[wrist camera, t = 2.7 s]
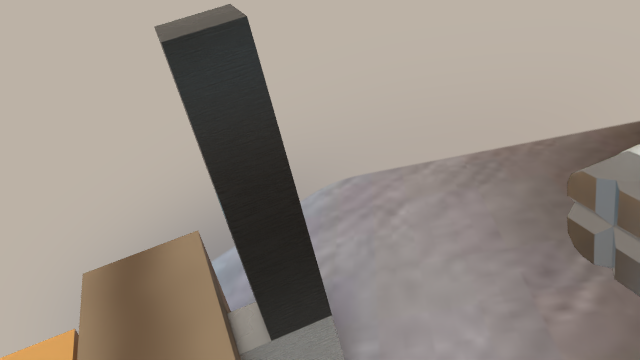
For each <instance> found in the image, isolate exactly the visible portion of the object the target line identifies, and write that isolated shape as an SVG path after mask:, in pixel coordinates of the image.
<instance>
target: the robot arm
mask: <svg viewBox="0 0 640 360" xmlns="http://www.w3.org/2000/svg"><path fill="white" fill-rule="evenodd" d="M567 195H568V196H569V198H570V199H571V200H572V201H573V202H574V205H573V207H572V209H571V211H570V212H569V214H568V216H567V222H568V234H569V236H570V238H571V240H572V242H573V245H574V247H575V248H576V249H577V250H578V251H579V253H580V254H581V255H582V256H583V257H584V258H586V259H587V260H589V261H590V262H591V263H593V264H594V265H599V266H604V267H608V268H612V271H613V275H614V279H615V280H617V281H618V282H620V283H621V284H622V285H624V286H625V287H627V288H628V289H630V290H631V291H633V292H634V293H635V294H637V295H638V296H640V144H639V145H636V146H634V147H632V148H630V149H627V150H625V151H623V152H621V153H620V154H618V155H615V156H613V157H611V158H608V159H606V160H603V161H601V162H599V163H596V164H594V165H591V166H589V167H587V168H584V169H582V170H579V171H577V172H575V173H572V174H571V176H570V178H569V181H568V184H567Z"/></svg>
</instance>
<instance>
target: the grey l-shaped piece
mask: <svg viewBox="0 0 640 360" xmlns="http://www.w3.org/2000/svg"><path fill="white" fill-rule="evenodd" d="M155 30H156V32H157V35H158V38H159V41H160V43H161V46H162V49H163V52H164V54H165V57H166V60H167V62H168V65H169V68H170V71H171V73H172V76H173V79H174V81H175V84H176V87H177V89H178V92H179V95H180V97H181V100H182V103H183V105H184V108H185V111H186V114H187V116H188V119H189V122H190V125H191V127H192V130H193V132H194V135H195V138H196V140H197V143H198V146H199V149H200V151H201V154H202V157H203V160H204V162H205V165H206V168H207V170H208V173H209V175H210V178H211V181H212V184H213V186H214V189H215V192H216V194H217V197H218V200H219V203H220V205H221V208H222V211H223V213H224V216H225V219H226V222H227V224H228V227H229V230H230V232H231V235H232V238H233V240H234V243H235V246H236V249H237V251H238V254H239V257H240V259H241V262H242V265H243V268H244V270H245V273H246V276H247V278H248V281H249V284H250V286H251V289H252V292H253V295H254V297H255V300H256V302H254V303H252V304H249V305H247V306H245V307H242V308H240V309H237V310H235V311H232V312H230V313H228V314H227V315H228V319H229V322H230V325H231V328H232V332H233V335H234V338H235V342H236V345H237V348H238V352H239V355H240V357H241V360H345V359H344V356H343V352H342V348H341V345H340V341H339V338H338V334H337V331H336V327H335V324H334V320H333V317H332V313H331V310H330V306H329V303H328V299H327V296H326V292H325V289H324V285H323V282H322V278H321V275H320V271H319V268H318V264H317V261H316V257H315V254H314V250H313V247H312V243H311V240H310V236H309V233H308V229H307V226H306V222H305V219H304V215H303V212H302V208H301V204H300V201H299V198H298V194H297V190H296V187H295V184H294V180H293V176H292V173H291V169H290V166H289V162H288V159H287V155H286V152H285V148H284V145H283V141H282V138H281V134H280V131H279V127H278V124H277V120H276V117H275V113H274V110H273V106H272V103H271V99H270V96H269V92H268V89H267V86H266V82H265V78H264V75H263V71H262V68H261V64H260V60H259V57H258V54H257V50H256V47H255V43H254V39H253V36H252V32H251V29H250V25H249V22H248V19H247V16H246V15H245V14H243V13H242V12H241V11H239V10H238V9H236V8H235V7H234V6H232V5H231V4H228V5H225V6H222V7H219V8H215V9H212V10H208V11H205V12H202V13H198V14H195V15H192V16H189V17H185V18H182V19H178V20H175V21H172V22H169V23H165V24H162V25H159V26H156V27H155Z"/></svg>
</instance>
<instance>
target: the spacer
mask: <svg viewBox="0 0 640 360" xmlns="http://www.w3.org/2000/svg"><path fill="white" fill-rule="evenodd" d="M78 340H79V335H78V333H77V332H76V330H75V329H73V330H71V331H68V332H66V333H63V334H61V335H58V336H55V337H53V338H50V339H48V340H45V341H43V342H40V343H38V344H35V345H32V346H30V347H27V348H25V349H22V350H20V351H17V352H15V353H12V354H10V355H7V356H5V357H2V358H0V360H77V355H78Z"/></svg>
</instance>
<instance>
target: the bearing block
mask: <svg viewBox="0 0 640 360" xmlns="http://www.w3.org/2000/svg"><path fill="white" fill-rule="evenodd" d="M82 280H83V281H82V295H81V310H80V325H79V340H78V355H77V360H241V357H240V355H239V352H238V348H237V345H236V342H235V338H234V335H233V332H232V328H231V325H230V322H229V319H228V315H227V314H228V313H230V312H231V311H230V308H229V306H228V303H227V301H226V298H225V296H224V294H223V291H222V289H221V286H220V284H219V281H218V279H217V276H216V274H215V271H214V269H213V266H212V264H211V261H210V259H209V257H208V254H207V252H206V249H205V247H204V244H203V242H202V239H201V237H200V234H199V232H198V231H195V232H193V233H190V234H188V235H185V236H182V237H179V238H177V239H174V240H171V241H169V242H167V243H164V244H161V245H158V246H156V247H153V248H151V249H148V250H145V251H142V252H140V253H137V254H134V255H132V256H129V257H126V258H124V259H121V260H118V261H116V262H113V263H111V264H108V265H105V266H103V267H100V268H97V269H95V270H92V271H89V272H87V273H84V274H83V279H82Z"/></svg>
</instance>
